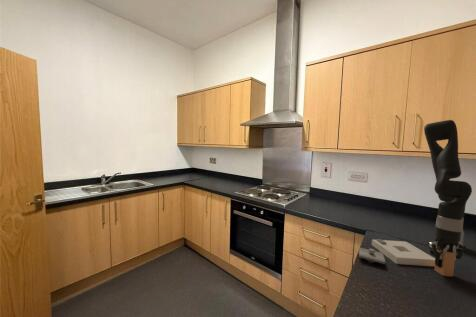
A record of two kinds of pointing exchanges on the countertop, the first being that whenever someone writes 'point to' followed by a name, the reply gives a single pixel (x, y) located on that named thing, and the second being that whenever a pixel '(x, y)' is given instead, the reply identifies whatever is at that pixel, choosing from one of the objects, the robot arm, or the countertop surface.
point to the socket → (403, 253)
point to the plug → (447, 264)
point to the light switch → (371, 255)
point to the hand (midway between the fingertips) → (444, 266)
